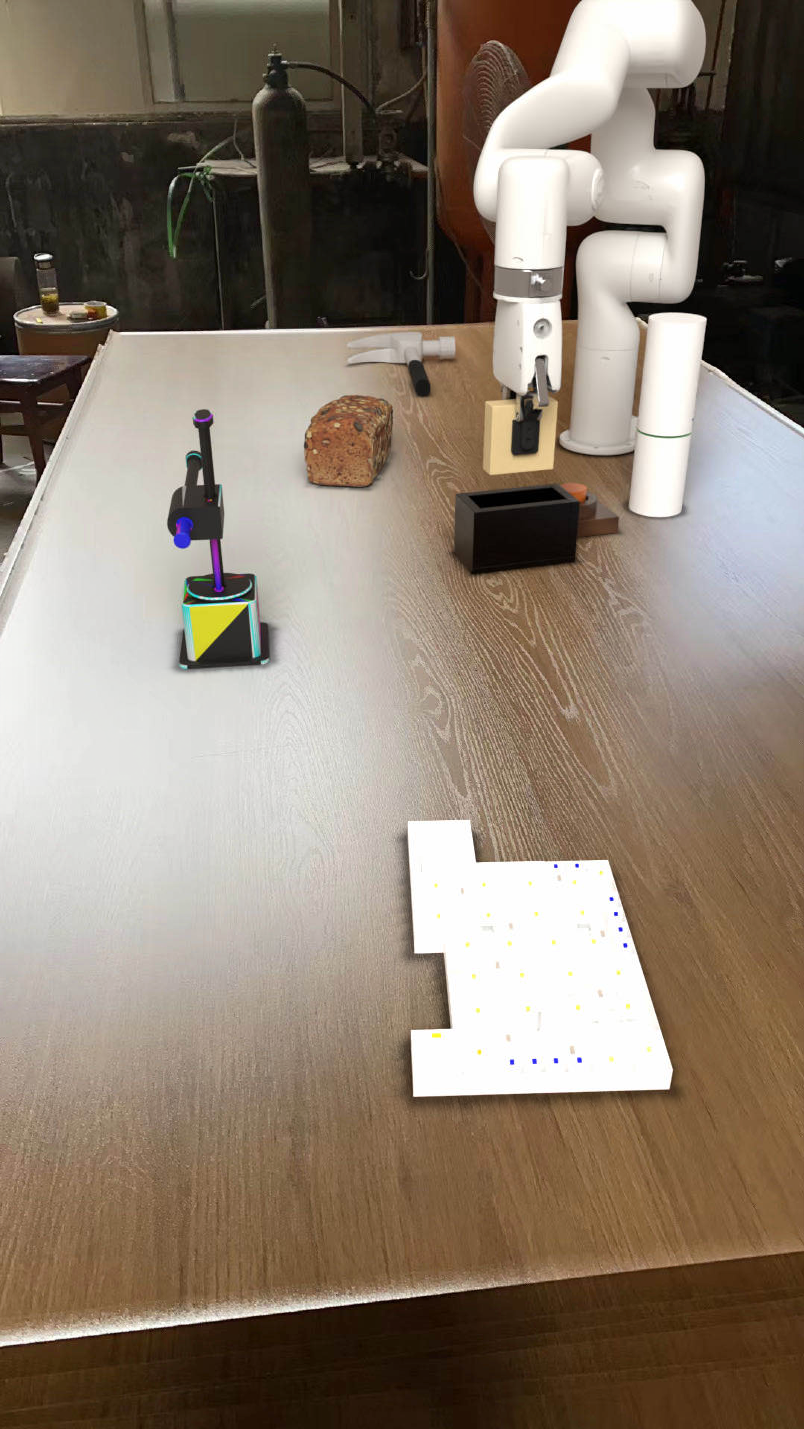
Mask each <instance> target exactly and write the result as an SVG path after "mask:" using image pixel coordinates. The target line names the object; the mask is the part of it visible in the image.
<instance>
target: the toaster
mask: <svg viewBox="0 0 804 1429" xmlns="http://www.w3.org/2000/svg"><path fill="white" fill-rule="evenodd" d="M560 485H561V484H559V483H557V482H556V483H548V484H547V483H546V484H539V485H538V484H537V485H528V486H519V487H508V488H507V487H506V488H500V489H489V490H488V489H487V490H479V491H472V492H459V493H455V495H454V496H455V497H454V540H453V542H454V543H453V547H454V548H453V554H454V555H455V556H456V558H457V559H458V560H459V561H460V562H461V563H462V564H463V566H464V567H465V568H466V569H467V570H468V572H470V574H471V575H478V574H479V575H480V574H488V573H496V572H505V571H511V570H512V571H514V570H520V569H528V568H538V567H546V566H553V565H561V564H571V563H575V562H576V556H577V554H576V553H577V543H578V537H577V532H578V520H579V508H580V501H579V500H578V499H576V498H575V497H574V496H573V495H571V494H570V493H569V492H568V491H566V490H565V489H564V488H563V487H561V486H560Z"/></svg>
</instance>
